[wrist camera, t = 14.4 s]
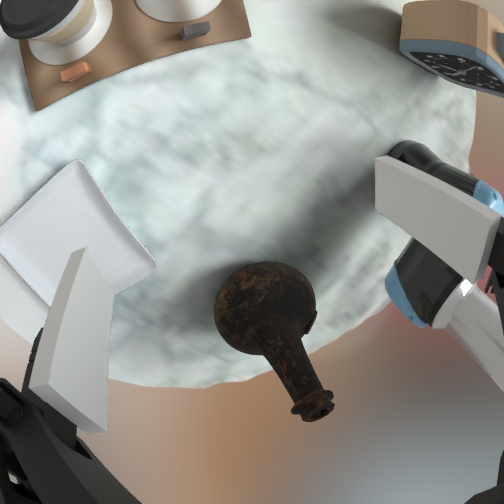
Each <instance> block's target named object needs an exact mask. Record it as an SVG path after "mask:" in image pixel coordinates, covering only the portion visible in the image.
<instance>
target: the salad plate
mask: <svg viewBox="0 0 504 504" xmlns="http://www.w3.org/2000/svg"><path fill="white" fill-rule="evenodd" d="M84 247H87V249H88V250H89V252H90V254H91V256H92V258H93V260H94V262H95V264H96V265H97V267H98V269H99V271H100V273H101V274H102V276H103V278H104V280H105V281H106V283H107V285H108V287H109V288H110V290H111V292H112V293H113V295H114V296H115V295H117V294H118V293H120V292H122V291H123V290H125V289H127V288H129V287H130V286H132V285H134V284H136V283H137V282H139V281H141V280H142V279H144V278H146V277H147V276H149V275H150V274H152V273H154V272H155V271H156V270H157V269H158V263H157V262H156V260H155V259H154V257H153V256H152V255H151V254H150V252H149V251H148V250H147V249H146V248H145V246H144V245H143V244H142V243H141V242H140V241H139V240H138V238H137V237H136V236H135V235H134V234H133V232H132V231H131V230H130V229H129V227H128V226H127V225H126V224H125V222H124V221H123V220H122V218H121V217H120V216H119V214H118V213H117V211H116V210H115V209H114V207H113V206H112V204H111V203H110V201H109V200H108V198H107V197H106V195H105V194H104V192H103V191H102V189H101V187H100V186H99V184H98V183H97V181H96V179H95V178H94V176H93V175H92V173H91V171H90V170H89V168H88V167H87V165H86V164H85V163H84V162H83V161H82V160H80V159H75V160H73V161H71V162H70V163H68V164H67V165H66V166H65V167H63V168H62V169H61V170H60V171H59V172H58V173H57V174H55V175H54V176H53V177H52V178H51V179H50V180H49V181H48V182H47V183H46V184H45V185H43V186H42V187H41V188H40V189H39V190H38V191H37V192H36V193H35V194H34V195H33V196H32V197H31V198H30V199H29V200H28V201H27V202H26V203H25V204H24V205H23V206H22V207H20V208H19V209H18V210H17V211H16V212H15V213H14V214H13V215H12V216H11V217H10V218H9V219H8V220H7V221H6V222H5V223H4V224H3V225H2V226H1V227H0V254H1V255H2V256H3V257H4V258H5V260H6V261H7V262H8V263H9V264H10V265H11V267H12V268H13V269H14V270H15V271H16V272H17V273H18V274H19V275H20V277H21V278H22V279H23V280H24V281H25V282H26V283H27V284H28V285H29V286H30V287H31V288H32V289H33V291H34V292H35V293H36V294H37V295H38V296H39V297H40V298H41V299H42V300H43V301H44V302H45V303H46V304H47V305H48V306H49V307H51V304H52V301H53V299H54V296H55V293H56V290H57V288H58V285H59V282H60V280H61V277H62V275H63V272H64V270H65V267H66V265H67V262H68V260H69V258H70V255H71V253H72V252H74V251H77V250H79V249H82V248H84Z"/></svg>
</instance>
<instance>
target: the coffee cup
mask: <svg viewBox="0 0 504 504" xmlns="http://www.w3.org/2000/svg"><path fill="white" fill-rule="evenodd" d="M96 16H97V10H96V7H95V4H94V0H2V1H1V4H0V25H1V27H2V29H3V31H4V32H5V33H6V34H7V35H8V36H10V37H12V38H14V39H26V40H32V41H40V42H47V43H60V44H70V43H74V42H76V41H78V40H80V39H81V38H83V37H84V36H85V35H86V34H87V33H88V32H89V31H90V30H91V29H92V27H93V25H94V23H95V21H96Z"/></svg>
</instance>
